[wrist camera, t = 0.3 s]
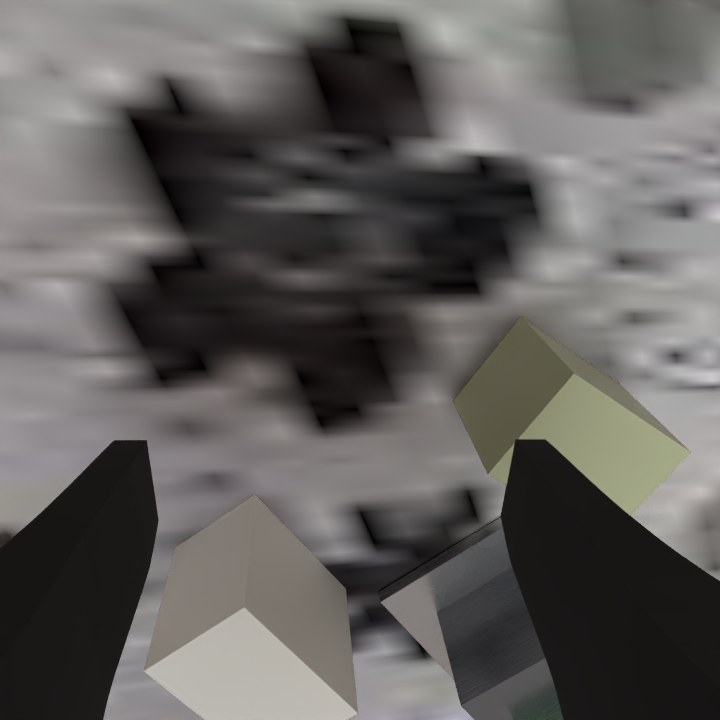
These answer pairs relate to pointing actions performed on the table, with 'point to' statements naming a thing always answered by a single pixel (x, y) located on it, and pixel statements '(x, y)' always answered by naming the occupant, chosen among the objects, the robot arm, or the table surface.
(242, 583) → the block
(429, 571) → the rail station
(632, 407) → the olive block
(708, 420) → the table surface
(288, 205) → the table surface
